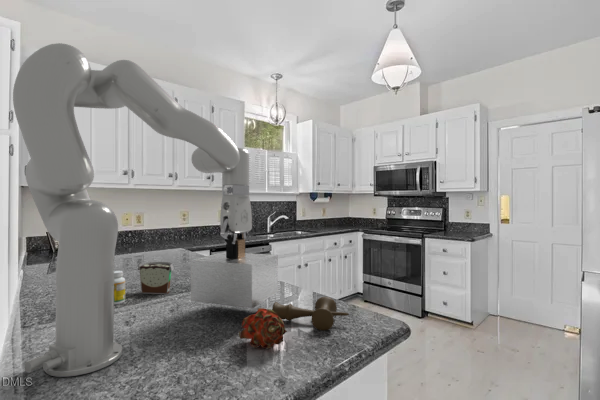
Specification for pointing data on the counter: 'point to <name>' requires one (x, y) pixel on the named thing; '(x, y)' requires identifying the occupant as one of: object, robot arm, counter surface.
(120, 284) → the supplement bottle
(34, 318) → the counter surface
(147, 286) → the food container
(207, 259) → the box with wooden handle
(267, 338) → the dragon fruit
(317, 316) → the kendama
